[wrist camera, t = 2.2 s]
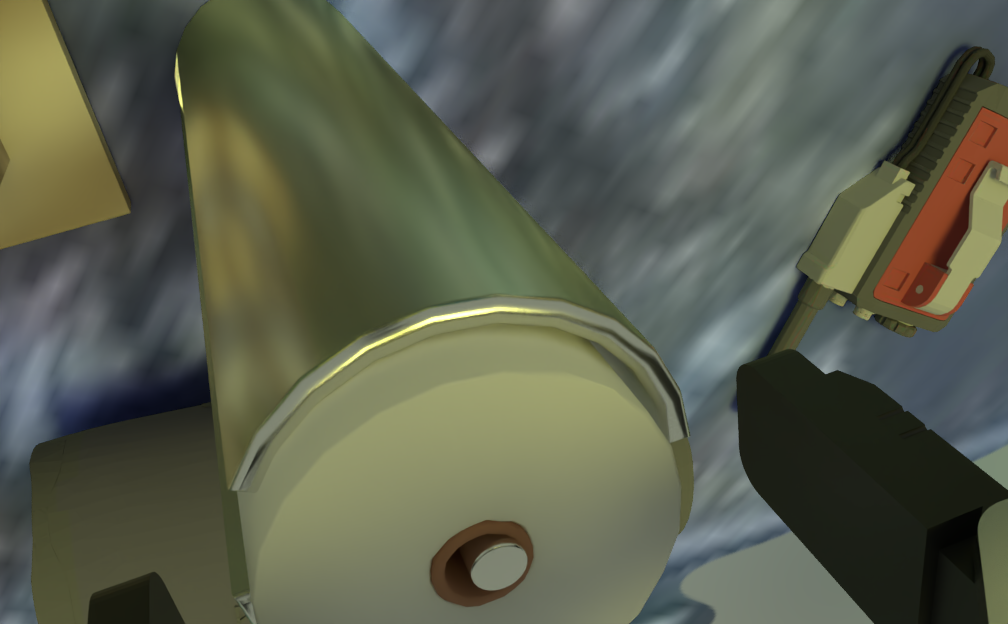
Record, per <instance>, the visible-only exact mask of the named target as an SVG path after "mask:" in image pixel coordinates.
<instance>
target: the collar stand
mask: <svg viewBox="0 0 1008 624" xmlns="http://www.w3.org/2000/svg"><path fill="white" fill-rule="evenodd" d="M129 213H131V201H130V199H129V196H128V194H127V192H126V189H125V187H124V184H123V182H122V180H121V177H120V175H119V172H118V170H117V168H116V165H115V163H114V160H113V158H112V156H111V153H110V151H109V148H108V146H107V143H106V141H105V139H104V136H103V134H102V131H101V129H100V127H99V124H98V122H97V119H96V117H95V115H94V112H93V110H92V107H91V105H90V103H89V100H88V98H87V95H86V93H85V91H84V88H83V86H82V83H81V81H80V79H79V76H78V74H77V71H76V69H75V66H74V64H73V62H72V59H71V57H70V54H69V52H68V50H67V47H66V45H65V42H64V40H63V38H62V35H61V33H60V30H59V28H58V26H57V23H56V21H55V18H54V16H53V14H52V11H51V9H50V6H49V4H48V1H47V0H0V249H3V248H7V247H10V246H14V245H17V244H21V243H25V242H28V241H32V240H35V239H39V238H43V237H46V236H50V235H53V234H57V233H61V232H64V231H68V230H71V229H75V228H79V227H82V226H86V225H89V224H93V223H97V222H100V221H104V220H107V219H111V218H115V217H118V216H122V215H125V214H129Z"/></svg>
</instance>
